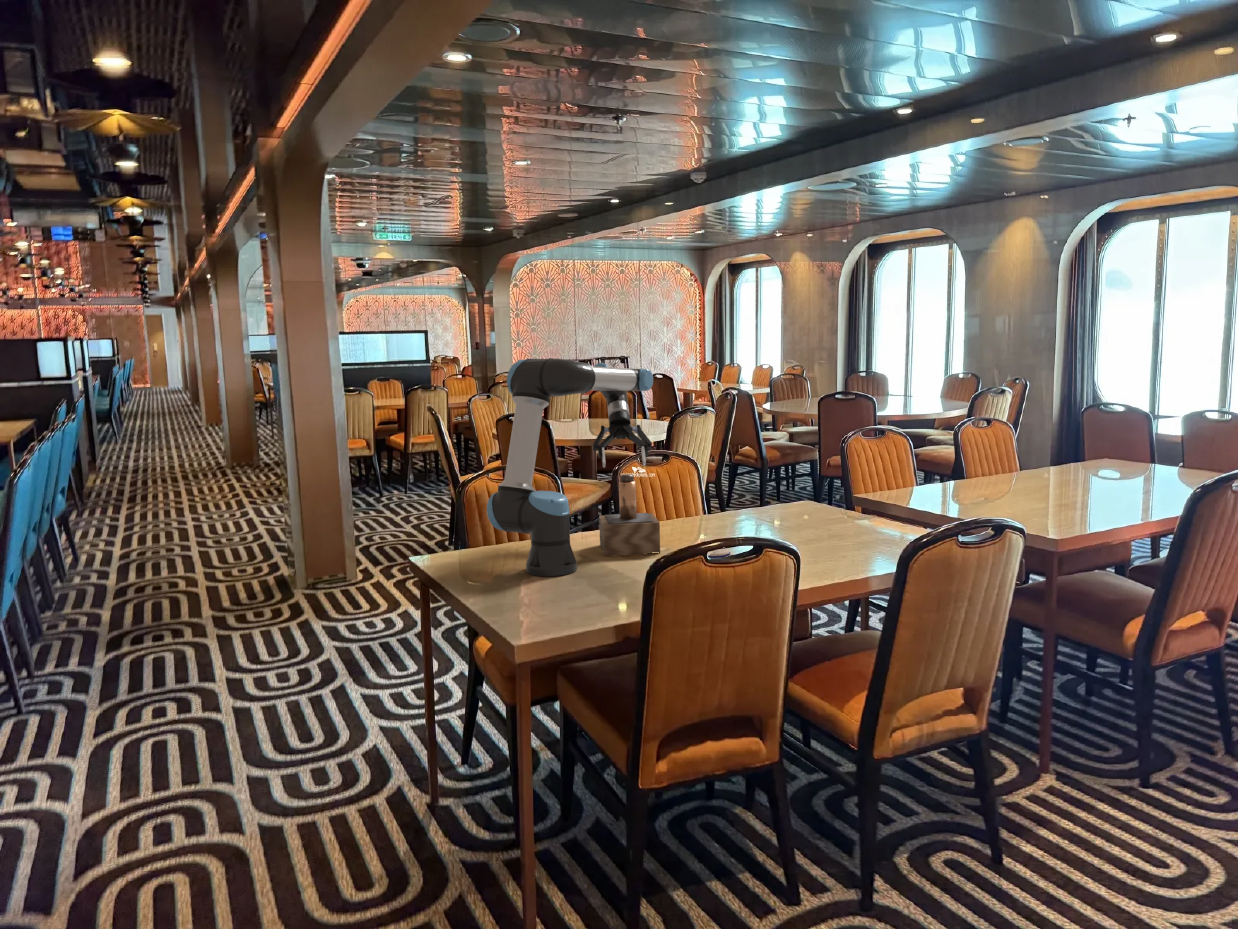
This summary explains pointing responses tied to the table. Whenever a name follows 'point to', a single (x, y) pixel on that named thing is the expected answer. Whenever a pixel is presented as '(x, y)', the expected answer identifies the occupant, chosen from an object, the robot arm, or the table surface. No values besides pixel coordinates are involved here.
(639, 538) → the walnut stand
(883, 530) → the table surface
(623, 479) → the copper pepper mill
